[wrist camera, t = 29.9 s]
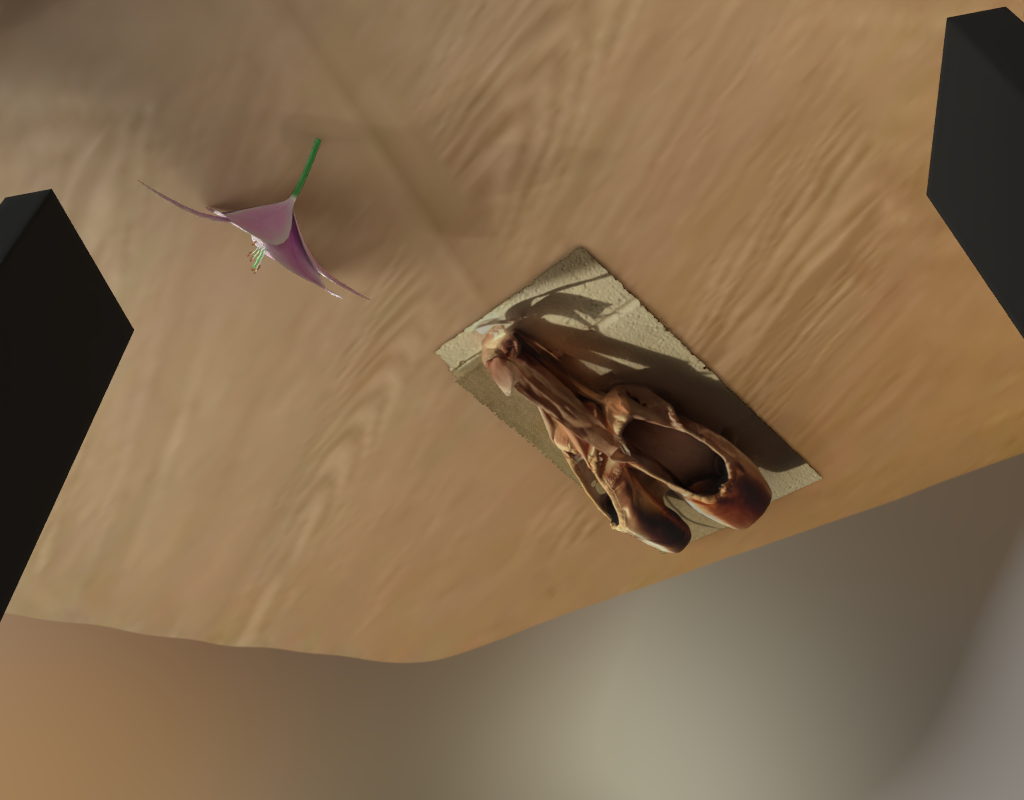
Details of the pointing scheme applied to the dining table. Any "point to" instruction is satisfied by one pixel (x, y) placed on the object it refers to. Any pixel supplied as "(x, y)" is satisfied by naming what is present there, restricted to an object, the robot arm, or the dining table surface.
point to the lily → (276, 232)
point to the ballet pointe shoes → (624, 408)
